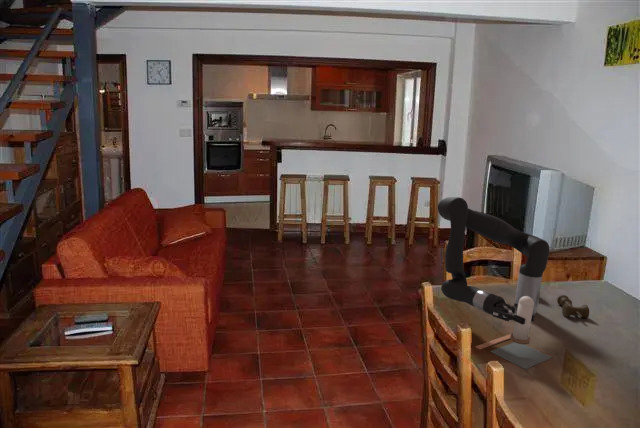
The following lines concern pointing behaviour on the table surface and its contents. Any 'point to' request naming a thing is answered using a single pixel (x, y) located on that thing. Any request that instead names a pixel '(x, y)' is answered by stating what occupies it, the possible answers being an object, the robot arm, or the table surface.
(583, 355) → the table surface
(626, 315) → the table surface
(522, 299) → the skittle
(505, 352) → the mat
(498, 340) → the distance line
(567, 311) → the kendama
